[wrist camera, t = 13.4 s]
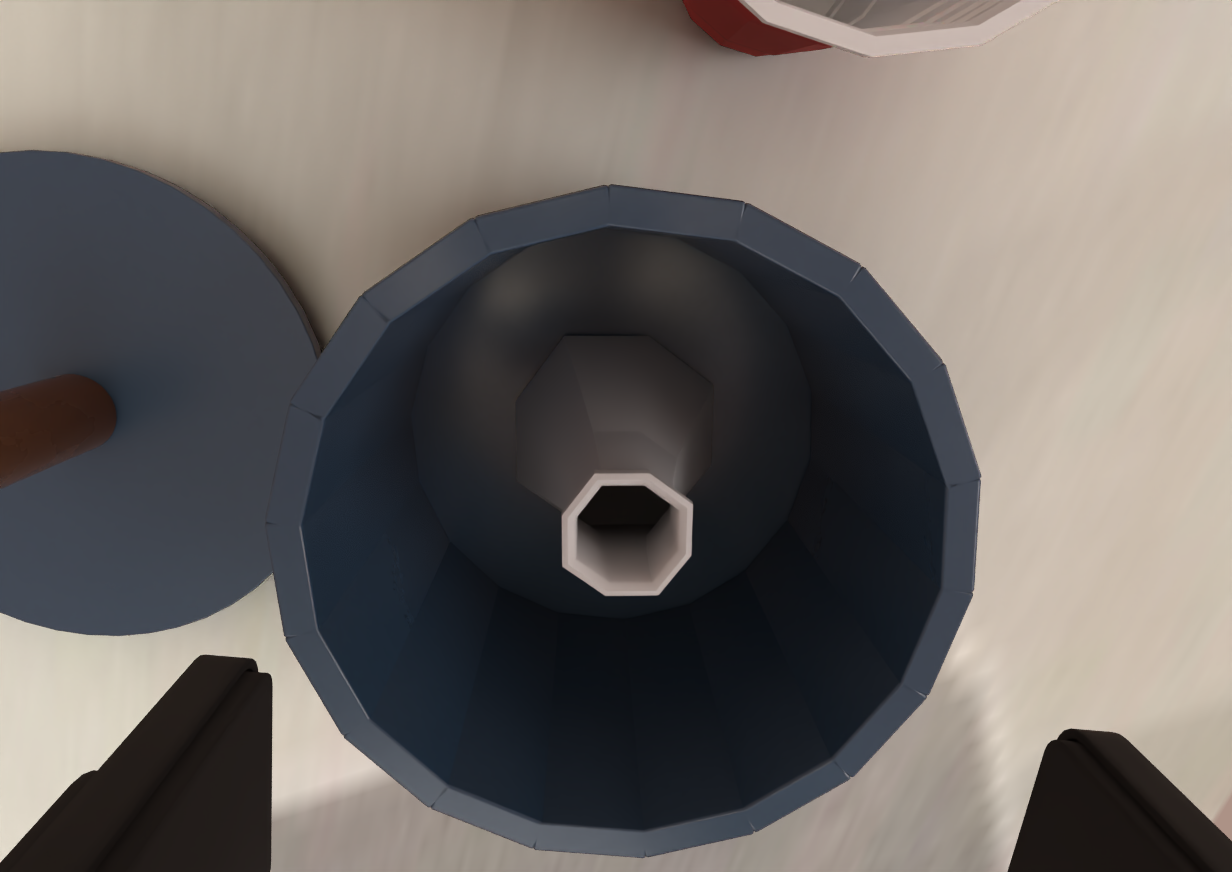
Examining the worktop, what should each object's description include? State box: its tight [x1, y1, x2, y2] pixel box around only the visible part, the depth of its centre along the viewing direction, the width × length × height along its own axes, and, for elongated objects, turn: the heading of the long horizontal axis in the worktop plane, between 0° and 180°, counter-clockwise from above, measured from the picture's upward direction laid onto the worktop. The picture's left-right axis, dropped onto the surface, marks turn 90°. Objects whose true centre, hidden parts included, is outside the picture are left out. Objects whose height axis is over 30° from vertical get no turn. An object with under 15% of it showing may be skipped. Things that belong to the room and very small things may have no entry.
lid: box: [0, 150, 321, 636], centre depth 24 cm, size 17×17×7 cm
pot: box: [265, 184, 981, 858], centre depth 23 cm, size 16×16×12 cm
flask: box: [515, 336, 714, 596], centre depth 23 cm, size 7×7×10 cm
